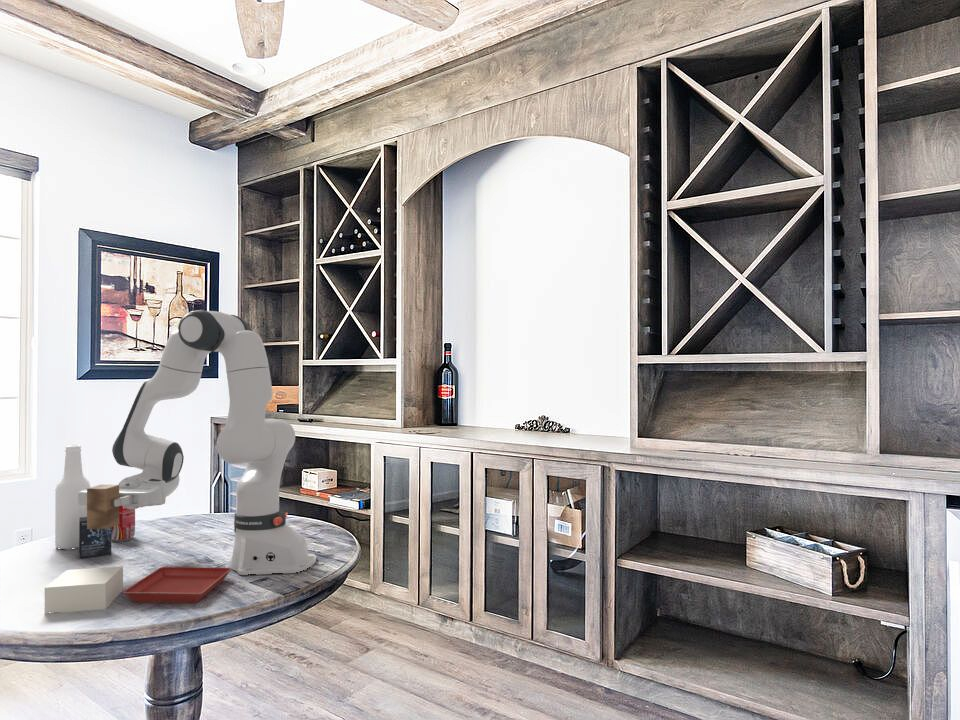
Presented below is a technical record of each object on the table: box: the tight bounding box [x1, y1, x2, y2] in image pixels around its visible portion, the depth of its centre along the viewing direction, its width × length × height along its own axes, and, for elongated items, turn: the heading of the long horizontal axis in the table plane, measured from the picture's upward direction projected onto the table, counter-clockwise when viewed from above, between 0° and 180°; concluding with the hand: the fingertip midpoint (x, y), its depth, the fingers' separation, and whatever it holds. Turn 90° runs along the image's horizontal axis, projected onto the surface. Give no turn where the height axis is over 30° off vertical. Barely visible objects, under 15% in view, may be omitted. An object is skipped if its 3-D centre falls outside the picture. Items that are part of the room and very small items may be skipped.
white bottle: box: [54, 444, 91, 550], centre depth 189 cm, size 9×9×30 cm
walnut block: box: [87, 484, 119, 529], centre depth 159 cm, size 5×5×10 cm
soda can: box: [111, 506, 136, 543], centre depth 196 cm, size 7×7×12 cm
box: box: [78, 517, 112, 559], centre depth 181 cm, size 8×6×11 cm
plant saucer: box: [122, 566, 232, 604], centre depth 152 cm, size 18×18×3 cm
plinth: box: [44, 566, 124, 614], centre depth 146 cm, size 12×12×6 cm
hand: (101, 503), depth 158 cm, fingers closed on walnut block, 5 cm apart
